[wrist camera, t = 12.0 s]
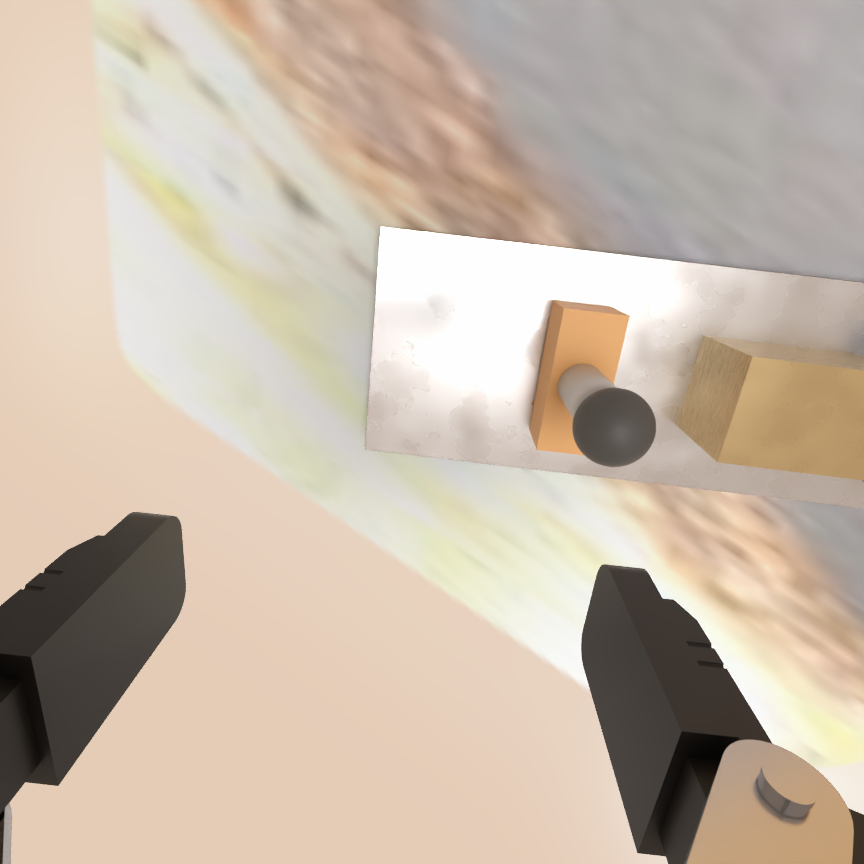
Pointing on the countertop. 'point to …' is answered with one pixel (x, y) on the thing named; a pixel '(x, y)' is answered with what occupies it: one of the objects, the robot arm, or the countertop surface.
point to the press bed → (525, 339)
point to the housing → (777, 407)
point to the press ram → (588, 389)
